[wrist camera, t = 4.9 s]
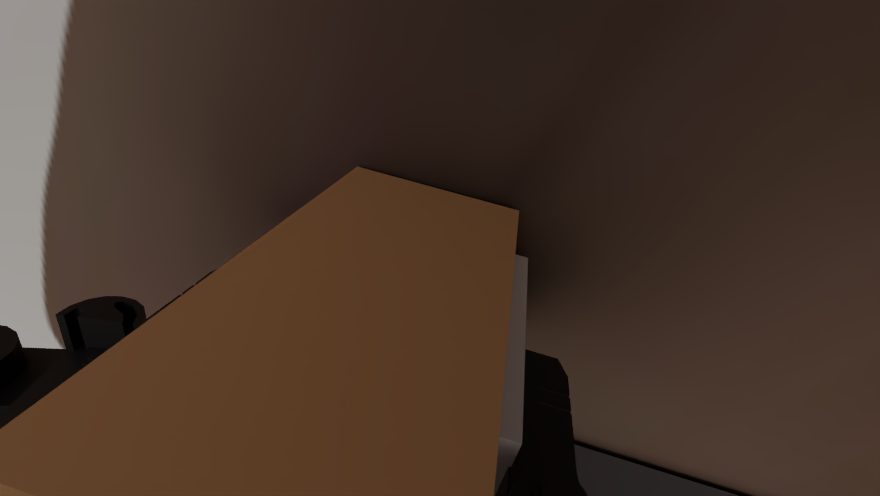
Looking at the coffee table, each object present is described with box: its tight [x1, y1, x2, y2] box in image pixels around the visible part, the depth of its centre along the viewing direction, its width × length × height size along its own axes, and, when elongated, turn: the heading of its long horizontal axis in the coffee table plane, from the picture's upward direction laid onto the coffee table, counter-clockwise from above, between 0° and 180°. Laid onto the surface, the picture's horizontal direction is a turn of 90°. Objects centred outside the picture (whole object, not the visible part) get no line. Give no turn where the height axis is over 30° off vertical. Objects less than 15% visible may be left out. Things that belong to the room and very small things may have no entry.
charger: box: [0, 167, 519, 496], centre depth 9 cm, size 5×5×10 cm
